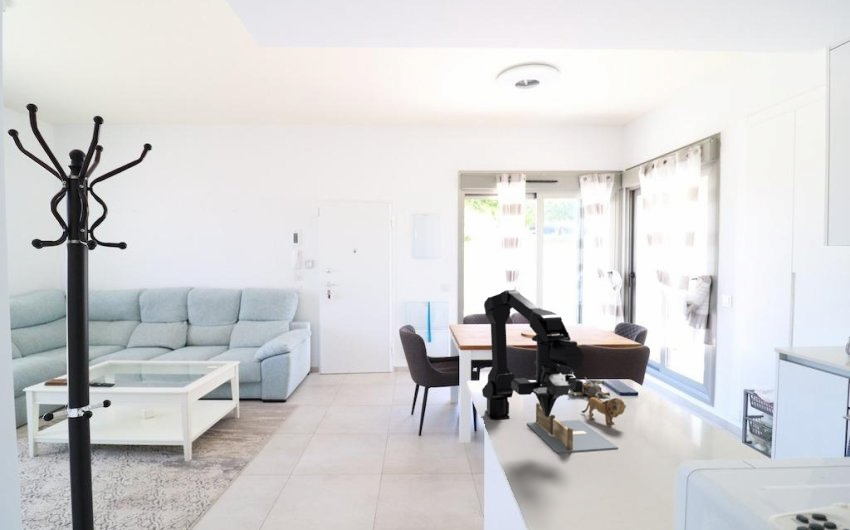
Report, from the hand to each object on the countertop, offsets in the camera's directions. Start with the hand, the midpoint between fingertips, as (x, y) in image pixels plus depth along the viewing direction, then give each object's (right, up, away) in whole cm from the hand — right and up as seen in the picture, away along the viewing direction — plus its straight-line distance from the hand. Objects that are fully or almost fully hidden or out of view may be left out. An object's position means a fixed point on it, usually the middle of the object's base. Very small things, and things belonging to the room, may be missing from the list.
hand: (546, 416), depth 104 cm
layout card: (+9, -9, +8) cm, 15 cm away
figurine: (+29, -10, +44) cm, 54 cm away
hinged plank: (+5, -8, +2) cm, 10 cm away
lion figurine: (+25, -9, +19) cm, 32 cm away
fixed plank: (+3, -9, +12) cm, 16 cm away
